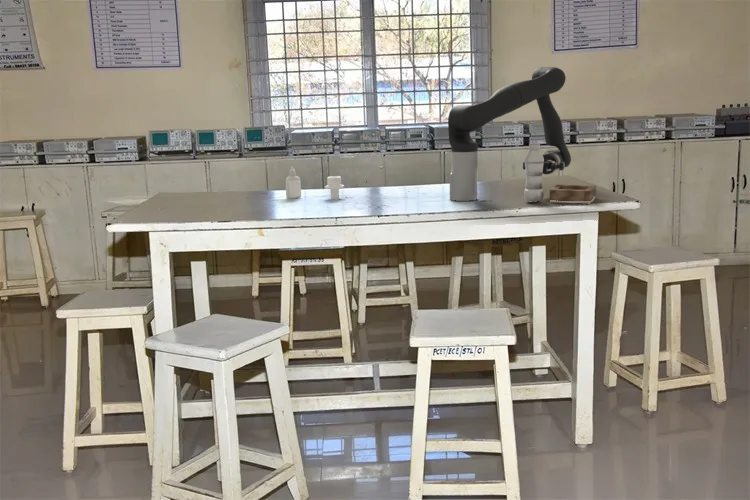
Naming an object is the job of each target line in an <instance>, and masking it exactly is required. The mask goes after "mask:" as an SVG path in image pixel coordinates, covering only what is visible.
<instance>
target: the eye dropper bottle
mask: <svg viewBox="0 0 750 500" xmlns="http://www.w3.org/2000/svg"><path fill="white" fill-rule="evenodd" d="M288 173H289V175H288V176H287V177H286V178H285V196H286V199H289V200H291V199H292V200H293V199H294V200H295V199H299V198H301V197H302V186H301V178H300V177H299V176H297V174H296V173H297V172H296V169H294V165H293V166H292V165H291V167H290V169H289V171H288Z"/></svg>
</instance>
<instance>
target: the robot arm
mask: <svg viewBox="0 0 750 500" xmlns="http://www.w3.org/2000/svg"><path fill="white" fill-rule="evenodd" d="M566 80H567V79H566V75H565V72H564V71H563V70H562V69H561V68H558V67H556V66H555V67H554V66H540V67H537V68H536V69H535V70H533V72H532V75H531V79H527V80H522V81H516V82H512V83H510V84H508V85H505V86H503V87H501V88H499V89H497V90H496V91H494V93H493V94H492V95H491V96H490V98H488V99H487V100H485V101H482V102H479V103H476V104H459V105H455V106H453V107H452V108H451V109H450V111H449V112H448V119H447V125H448V126H447V127H448V129H447V131H448V141H449V145H450V148H451V154H450V156H451V159H450V160H451V165H450V166H451V172H450V173H449V201H455V200H456V201H457V202H458V201H459V202H470V201H469V200H473V201H476V199H477V200H478V196H479V195H478V194H479V193H478V188H479V187H478V183H479V182H478V170H479V168H478V165H479V164H478V162H479V161H478V160H479V159H478V158H479V157H478V156H479V155H478V149H479V147H478V143H477V142H476V141H475V140H474V139H473V138H472V137H471V134H470V133H472V132H475V131H477V130H479V129H481V128H483V127H484V126H486V125H487V124H489V123H490V122H491V121H492V122H493V120H496V119H498V118H500V117H503V116H504V115H508V114H509V113H511V112H514V111H516V110H519V109H520V108H522V107H524V106H526V105H528V104H530V103H531V102H534V101H536V103H537V106H538V109H539V112H540V116H541V120H542V125H543V126H542V127H543V133H544V141H545V144H546V145H547V146H550V147H556V148H557V149H551V150H546V151H545V152H544V153H543V154H542V156H543V158H544V164H543V171H542V175H550V174H553V173H554V172H555V171H558V170H559V171H563V170H564V169H565V168H567V167H569V166H570V164H571V163H572V156H571V153H570V151H569V149H568V147H567V145H566V141H565V137H564V130H563V123H562V120H561V117H560V115H559V114H558V112H557V110H556V109H555V106H554V105H553V102H552V100H551V97H550V96H551V95H550V94H555V93H556V92H559V91H560V90H561V89H562V88H563V87H564V85H565V83H566ZM522 169H523V170H525V171H526V169H525V161H524V162H522Z"/></svg>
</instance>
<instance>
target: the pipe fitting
mask: <svg viewBox="0 0 750 500" xmlns="http://www.w3.org/2000/svg"><path fill="white" fill-rule="evenodd" d="M326 179H327V181H326V182H327V185H325V186H324V189H327V190H330V191H329V192H330V193H329V194H330V199H332V200H338V199H340V190H341V189H344V188H345V185H344V184H342V177H341V176H340V175H336V176H335V175H334V176H333V175H332V176H327V178H326Z"/></svg>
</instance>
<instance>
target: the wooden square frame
mask: <svg viewBox="0 0 750 500" xmlns="http://www.w3.org/2000/svg"><path fill="white" fill-rule="evenodd" d="M595 195H597V186H596V185H580V184H578V185H577V184H556V185H554V186H553V187H552V188H550V189H549V200H556V201H557V200H558V201H591V200H592V199H593V197H594V196H595Z"/></svg>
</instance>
